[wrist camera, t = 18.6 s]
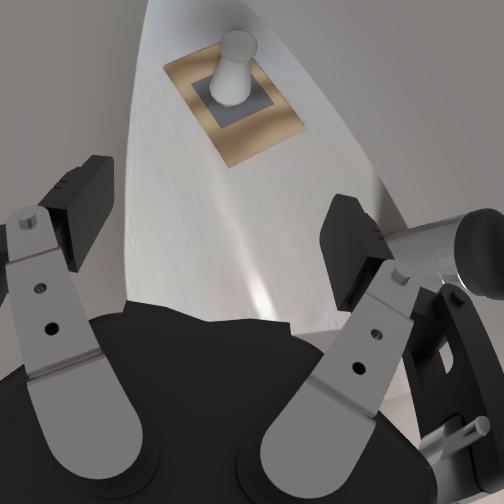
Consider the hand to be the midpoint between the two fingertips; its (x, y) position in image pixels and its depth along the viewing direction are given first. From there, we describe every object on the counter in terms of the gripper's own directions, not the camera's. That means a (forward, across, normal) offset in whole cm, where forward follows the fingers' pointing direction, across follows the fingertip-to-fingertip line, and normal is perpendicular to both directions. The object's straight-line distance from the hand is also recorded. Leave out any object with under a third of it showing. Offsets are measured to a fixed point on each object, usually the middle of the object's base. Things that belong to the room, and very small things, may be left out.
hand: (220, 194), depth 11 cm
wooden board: (+39, 0, +5) cm, 39 cm away
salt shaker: (+38, +1, +5) cm, 38 cm away
